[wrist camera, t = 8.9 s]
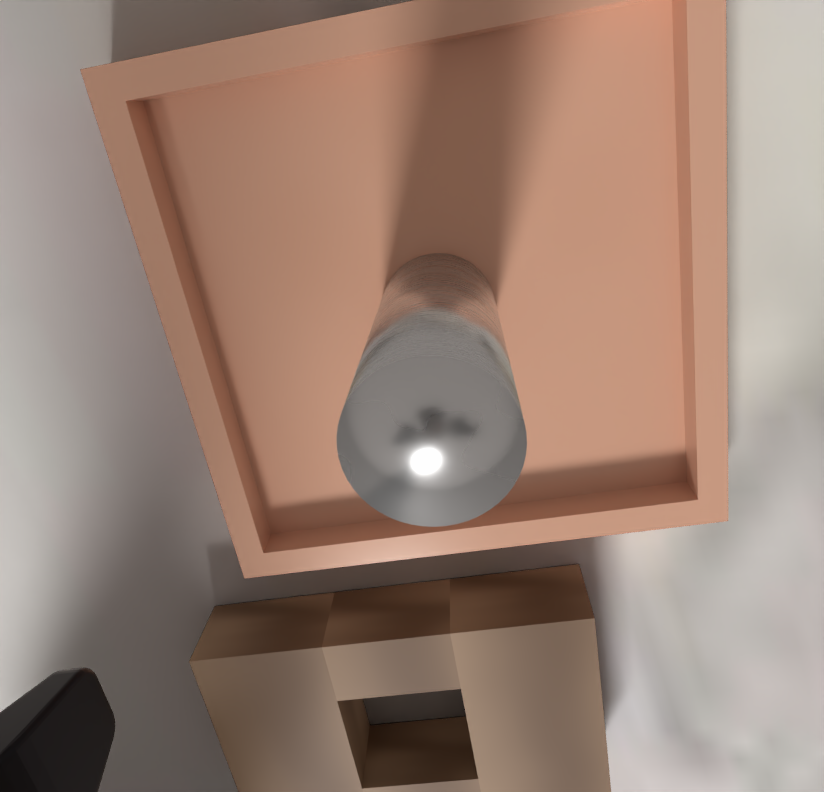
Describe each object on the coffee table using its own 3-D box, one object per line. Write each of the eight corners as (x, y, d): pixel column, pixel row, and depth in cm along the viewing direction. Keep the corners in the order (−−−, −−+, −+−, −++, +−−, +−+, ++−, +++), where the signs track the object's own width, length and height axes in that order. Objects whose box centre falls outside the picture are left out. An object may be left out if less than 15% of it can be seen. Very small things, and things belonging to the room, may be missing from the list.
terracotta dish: (257, 549, 22) (244, 578, 21) (110, 72, 17) (80, 69, 16) (709, 493, 21) (728, 520, 19) (700, -49, 15) (725, -65, 14)
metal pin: (393, 370, 19) (357, 537, 12) (371, 263, 18) (317, 371, 11) (502, 354, 19) (537, 514, 11) (487, 244, 18) (515, 341, 10)
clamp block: (273, 776, 26) (257, 841, 24) (214, 606, 23) (189, 661, 21) (597, 748, 25) (613, 814, 22) (578, 564, 22) (594, 618, 19)
